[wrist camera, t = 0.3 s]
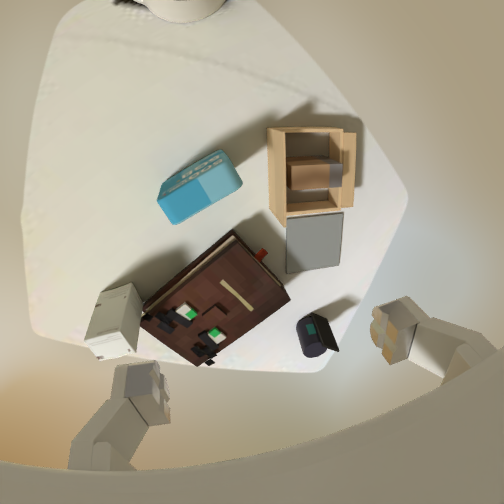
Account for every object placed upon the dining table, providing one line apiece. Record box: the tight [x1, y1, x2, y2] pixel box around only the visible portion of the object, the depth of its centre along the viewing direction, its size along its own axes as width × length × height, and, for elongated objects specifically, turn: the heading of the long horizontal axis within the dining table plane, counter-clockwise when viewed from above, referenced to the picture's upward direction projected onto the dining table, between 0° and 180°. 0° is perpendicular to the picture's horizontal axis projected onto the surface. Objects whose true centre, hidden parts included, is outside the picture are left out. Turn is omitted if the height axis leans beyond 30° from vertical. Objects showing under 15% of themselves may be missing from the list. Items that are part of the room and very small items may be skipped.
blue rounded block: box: [157, 150, 243, 225], centre depth 48 cm, size 12×4×12 cm, turn 117°
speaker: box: [296, 313, 339, 358], centre depth 69 cm, size 8×6×10 cm
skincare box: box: [84, 283, 143, 361], centre depth 54 cm, size 8×6×15 cm
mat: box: [286, 213, 343, 274], centre depth 63 cm, size 12×12×1 cm
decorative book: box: [140, 229, 291, 367], centre depth 61 cm, size 19×8×30 cm
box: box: [286, 156, 343, 190], centre depth 52 cm, size 4×9×8 cm, turn 93°
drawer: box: [267, 127, 356, 227], centre depth 52 cm, size 15×15×10 cm
